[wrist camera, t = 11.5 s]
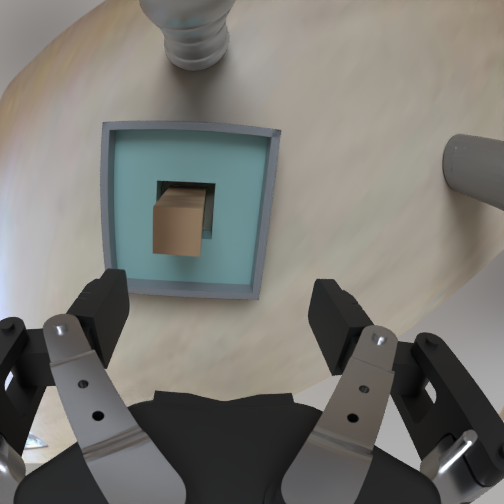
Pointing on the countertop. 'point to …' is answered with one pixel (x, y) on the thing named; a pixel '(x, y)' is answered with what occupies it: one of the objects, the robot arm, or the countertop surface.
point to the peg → (179, 221)
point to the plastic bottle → (191, 29)
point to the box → (188, 170)
